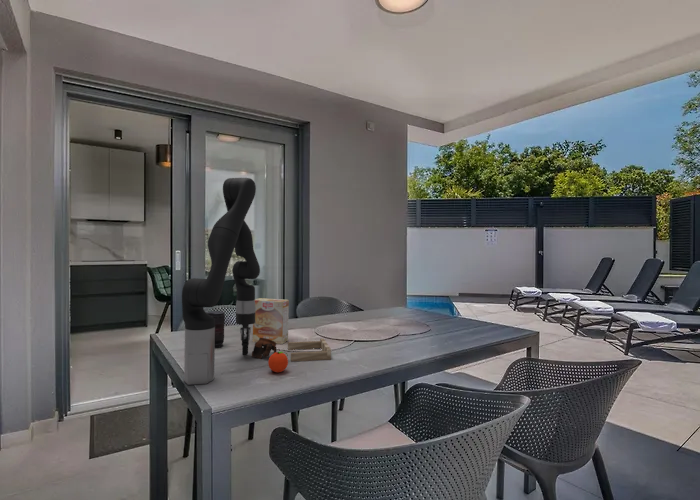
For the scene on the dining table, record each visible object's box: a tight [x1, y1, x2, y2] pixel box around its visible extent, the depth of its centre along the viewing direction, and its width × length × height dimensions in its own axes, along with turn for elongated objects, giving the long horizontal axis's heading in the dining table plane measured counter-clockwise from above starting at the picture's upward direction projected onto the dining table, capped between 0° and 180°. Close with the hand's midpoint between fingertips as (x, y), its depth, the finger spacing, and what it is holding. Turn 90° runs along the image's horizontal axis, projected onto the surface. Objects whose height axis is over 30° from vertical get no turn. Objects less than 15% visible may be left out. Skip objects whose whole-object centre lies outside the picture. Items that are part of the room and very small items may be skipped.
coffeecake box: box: [252, 297, 290, 345], centre depth 179 cm, size 15×7×20 cm, turn 76°
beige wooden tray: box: [287, 338, 332, 362], centre depth 159 cm, size 18×16×4 cm
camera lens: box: [205, 310, 226, 349], centre depth 169 cm, size 8×8×15 cm
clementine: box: [267, 351, 289, 373], centre depth 137 cm, size 8×7×7 cm
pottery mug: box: [251, 338, 277, 360], centre depth 155 cm, size 12×10×8 cm
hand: (245, 354), depth 154 cm, fingers closed
